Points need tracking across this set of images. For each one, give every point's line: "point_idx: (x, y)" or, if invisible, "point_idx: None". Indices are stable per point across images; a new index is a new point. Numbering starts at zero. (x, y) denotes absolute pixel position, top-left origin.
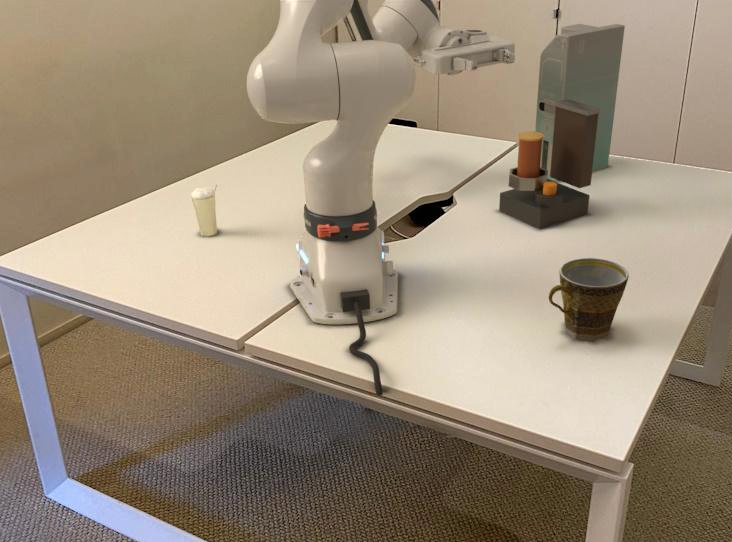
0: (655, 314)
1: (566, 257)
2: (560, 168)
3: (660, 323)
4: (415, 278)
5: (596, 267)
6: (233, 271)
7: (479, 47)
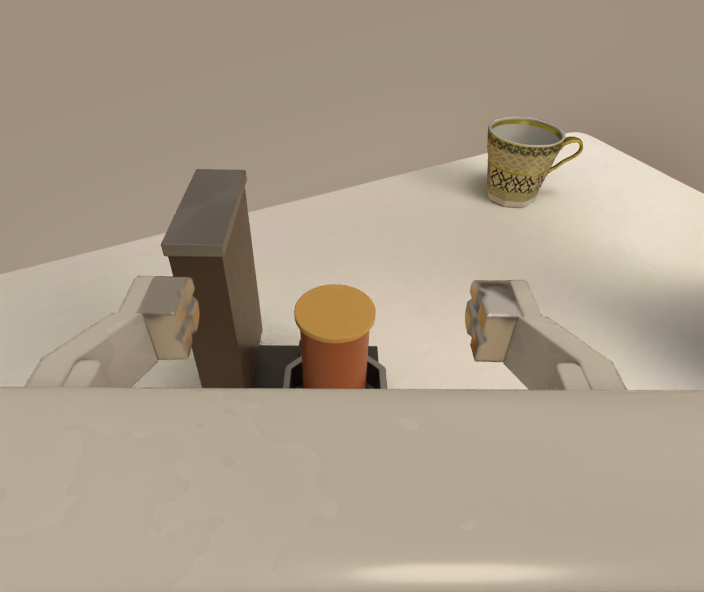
0: (421, 186)
1: (411, 291)
2: (250, 358)
3: (430, 179)
4: (687, 355)
5: (502, 148)
6: None
7: (273, 420)
